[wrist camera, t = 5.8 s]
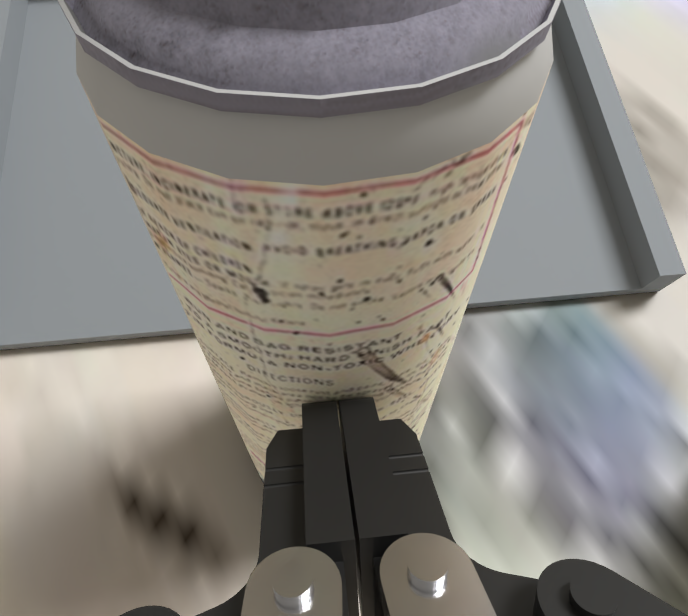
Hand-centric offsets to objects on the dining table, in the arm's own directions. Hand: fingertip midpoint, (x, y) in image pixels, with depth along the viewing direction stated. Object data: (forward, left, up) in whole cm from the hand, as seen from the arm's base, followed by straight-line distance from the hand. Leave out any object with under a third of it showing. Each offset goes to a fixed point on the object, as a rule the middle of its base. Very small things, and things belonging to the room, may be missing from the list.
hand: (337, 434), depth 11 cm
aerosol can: (0, +1, -10) cm, 10 cm away
